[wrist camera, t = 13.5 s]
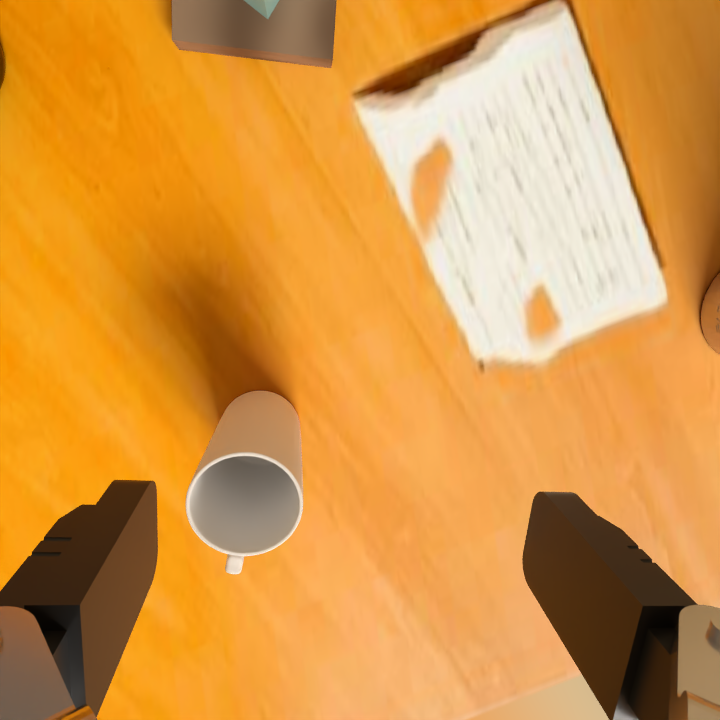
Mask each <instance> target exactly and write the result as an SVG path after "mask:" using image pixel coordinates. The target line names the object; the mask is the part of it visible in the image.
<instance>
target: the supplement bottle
mask: <svg viewBox="0 0 720 720" xmlns="http://www.w3.org/2000/svg"><path fill="white" fill-rule="evenodd" d="M4 75H5V59H4V54H3V50H2V47H1V44H0V89H1V86H2V83H3V80H4Z"/></svg>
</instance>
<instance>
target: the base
mask: <svg viewBox="0 0 720 720" xmlns="http://www.w3.org/2000/svg"><path fill="white" fill-rule="evenodd" d="M335 14H336V0H279V2H278V3H277V5H276V7H275V8H274V10H273V12H272V13H271V15H270V17H269V18H268V19H267V18H265V17H264V16H263V15H262V14H260V13H259V12H258V11H257V10H255V9H254V8H253V7H252V6H250V5H249V4H248V3H246V2H245V1H244V0H172V40H173V42H174V43H175V44H176V46H177V47H178V48H179V50H187V51H195V52H203V53H212V54H220V55H228V56H236V57H244V58H253V59H261V60H269V61H277V62H286V63H294V64H302V65H310V66H319V67H327V68H331V66H332V60H333V45H334V30H335Z"/></svg>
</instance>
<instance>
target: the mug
mask: <svg viewBox="0 0 720 720" xmlns="http://www.w3.org/2000/svg"><path fill="white" fill-rule="evenodd" d="M302 511H303V475H302V452H301V431H300V421H299V417H298V414H297V412H296V410H295V409H294V407H293V406H292V405H291V403H290V402H289V401H287V400H286V399H285V398H284V397H282V396H280V395H278V394H276V393H273V392H269V391H251V392H248V393H245V394H243V395H241V396H239V397H237V398H236V399H234V400H233V401H232V402H231V403H230V404H229V406H228V407H227V408H226V410H225V412H224V414H223V415H222V417H221V419H220V421H219V423H218V425H217V427H216V430H215V432H214V434H213V436H212V438H211V440H210V442H209V444H208V447H207V449H206V451H205V453H204V455H203V457H202V459H201V461H200V463H199V465H198V467H197V470H196V472H195V474H194V476H193V479H192V481H191V484H190V486H189V488H188V492H187V496H186V512H187V517H188V520H189V522H190V525H191V527H192V528H193V530H194V532H195V533H196V534H197V535H198V537H199V538H200V539H201V540H202V541H204V542H205V543H206V544H207V545H209V546H210V547H212V548H214V549H216V550H218V551H220V552H223V553H226V554H228V556H227V561H226V567H225V570H226V572H227V573H230V574H239V573H240V572H241V570H242V565H243V560H244V556H252V555H258V554H262V553H265V552H268V551H270V550H272V549H274V548H276V547H278V546H279V545H281V544H282V543H283V542H285V541H286V540H287V539H288V538H289V537H290V536H291V535H292V533H293V532H294V531H295V529H296V527H297V526H298V524H299V521H300V519H301V515H302Z"/></svg>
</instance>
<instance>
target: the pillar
mask: <svg viewBox="0 0 720 720" xmlns="http://www.w3.org/2000/svg"><path fill="white" fill-rule="evenodd" d="M244 1H245V2H246V3H248V4H249V5H250V6H252V7H253V8H254V9H255V10H257V11H258V12H259V13H260V14H262V15H263V16H264V17H265V18H267V19H268V18H269V17H270V15H271V13H272V12H273V10H274V8H275V7H276V5H277V3H278V2H279V0H244Z"/></svg>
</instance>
